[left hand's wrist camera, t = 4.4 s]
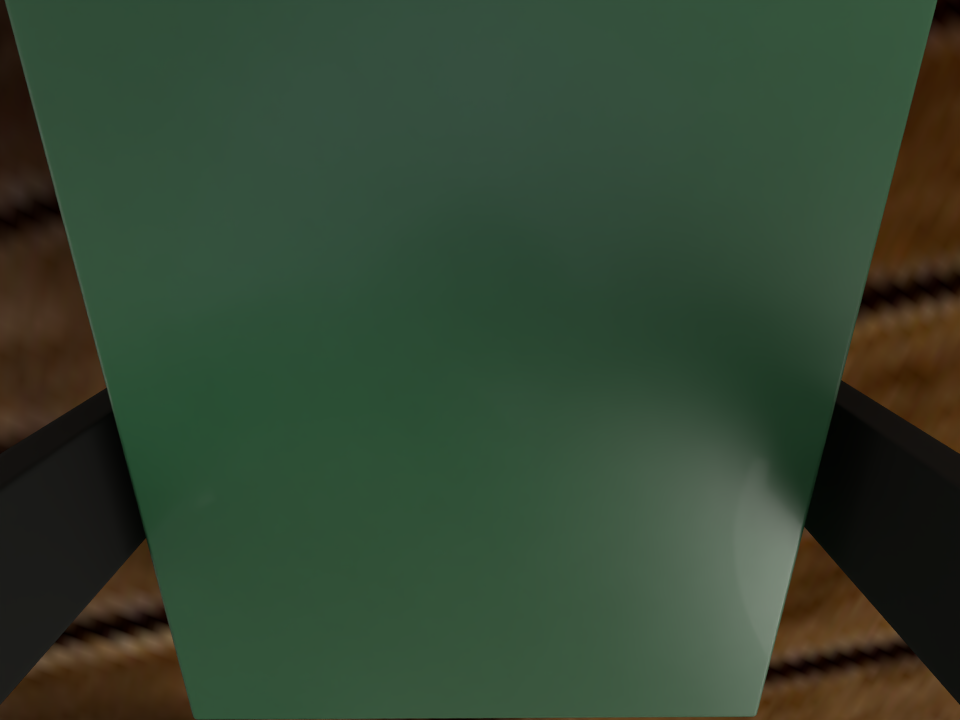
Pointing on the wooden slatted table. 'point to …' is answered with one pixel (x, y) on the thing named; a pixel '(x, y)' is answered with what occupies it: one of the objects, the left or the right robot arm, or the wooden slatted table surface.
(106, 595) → the wooden slatted table surface
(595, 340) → the cabinet
